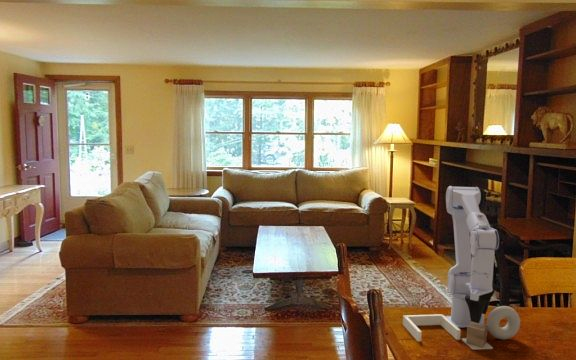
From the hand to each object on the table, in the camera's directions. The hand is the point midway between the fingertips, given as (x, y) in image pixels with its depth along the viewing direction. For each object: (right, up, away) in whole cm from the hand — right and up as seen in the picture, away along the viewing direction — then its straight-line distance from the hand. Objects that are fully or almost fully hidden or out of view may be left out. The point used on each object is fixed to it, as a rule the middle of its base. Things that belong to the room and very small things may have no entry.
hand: (478, 317), depth 128 cm
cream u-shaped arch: (-11, -7, +8) cm, 15 cm away
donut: (+9, -8, +5) cm, 13 cm away
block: (0, -8, +1) cm, 8 cm away
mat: (0, -8, +1) cm, 8 cm away
